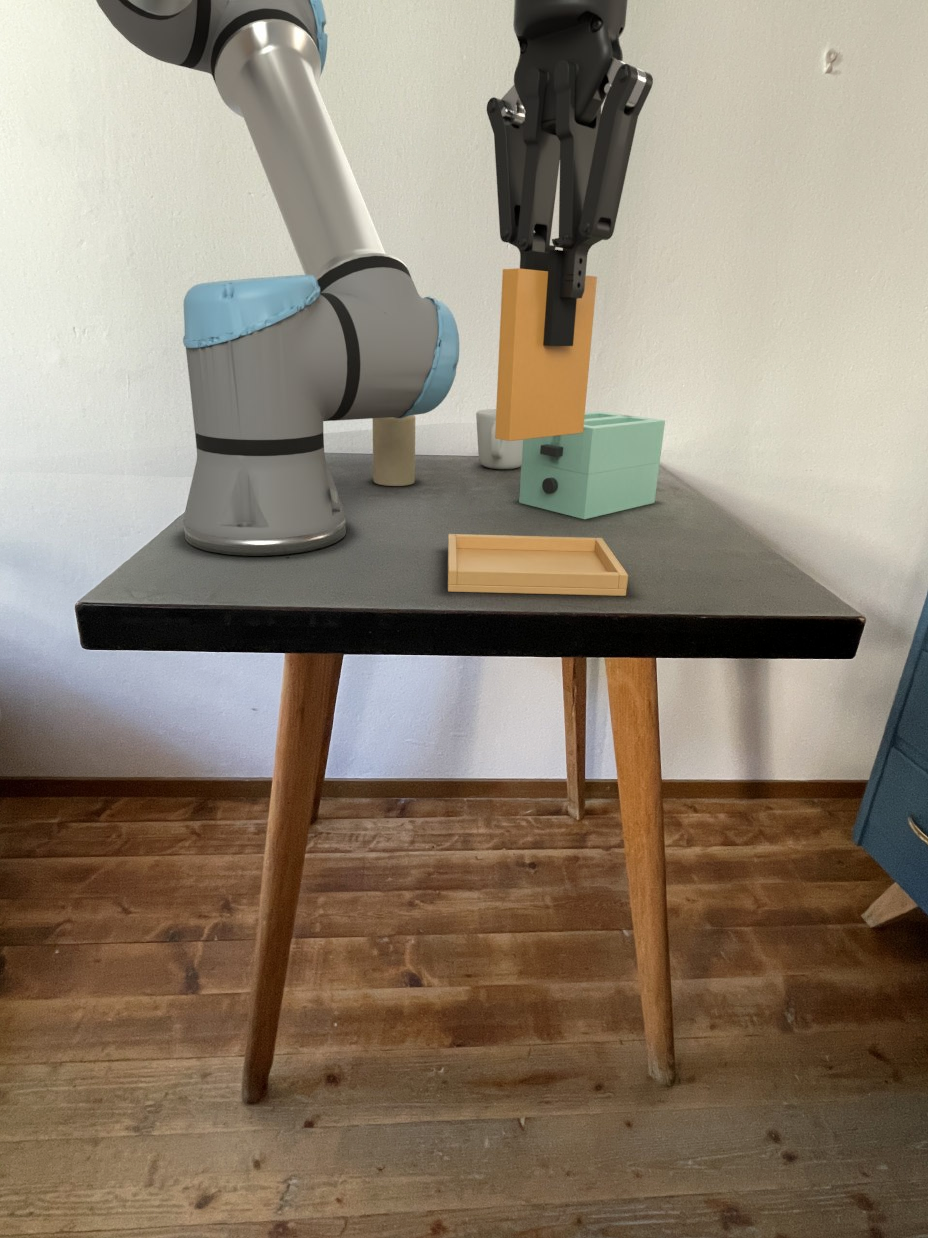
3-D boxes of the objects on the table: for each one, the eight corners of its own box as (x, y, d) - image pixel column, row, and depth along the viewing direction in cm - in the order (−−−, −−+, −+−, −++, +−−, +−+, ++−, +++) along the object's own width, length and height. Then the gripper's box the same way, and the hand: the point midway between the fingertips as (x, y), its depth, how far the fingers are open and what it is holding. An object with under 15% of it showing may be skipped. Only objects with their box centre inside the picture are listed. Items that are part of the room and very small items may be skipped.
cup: (521, 477, 104) (524, 418, 101) (465, 473, 105) (467, 415, 102) (530, 464, 114) (533, 410, 111) (479, 460, 115) (481, 407, 112)
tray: (447, 591, 59) (448, 570, 58) (447, 552, 69) (448, 533, 69) (625, 596, 60) (628, 575, 59) (600, 556, 70) (602, 537, 69)
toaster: (512, 504, 89) (517, 418, 85) (590, 488, 98) (597, 411, 95) (577, 521, 82) (586, 428, 78) (654, 502, 92) (665, 420, 88)
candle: (416, 478, 101) (417, 402, 97) (413, 487, 96) (413, 407, 92) (376, 477, 101) (375, 401, 97) (370, 485, 96) (369, 405, 92)
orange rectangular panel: (494, 438, 58) (502, 268, 53) (568, 430, 63) (581, 276, 59) (509, 441, 56) (518, 268, 52) (583, 432, 62) (597, 276, 58)
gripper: (702, -52, 46) (654, 349, 55) (529, 9, 56) (511, 341, 65) (632, -99, 41) (592, 349, 50) (456, -23, 51) (448, 340, 60)
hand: (547, 344), depth 57 cm, fingers closed on orange rectangular panel, 1 cm apart
